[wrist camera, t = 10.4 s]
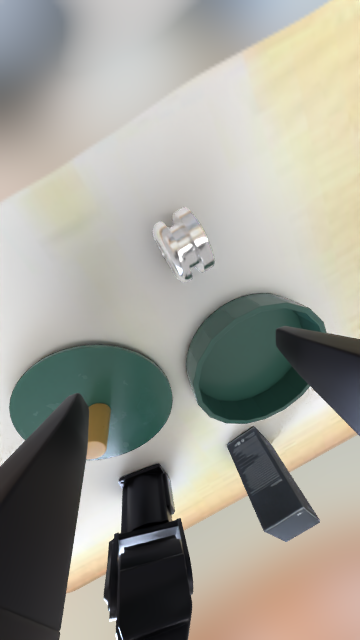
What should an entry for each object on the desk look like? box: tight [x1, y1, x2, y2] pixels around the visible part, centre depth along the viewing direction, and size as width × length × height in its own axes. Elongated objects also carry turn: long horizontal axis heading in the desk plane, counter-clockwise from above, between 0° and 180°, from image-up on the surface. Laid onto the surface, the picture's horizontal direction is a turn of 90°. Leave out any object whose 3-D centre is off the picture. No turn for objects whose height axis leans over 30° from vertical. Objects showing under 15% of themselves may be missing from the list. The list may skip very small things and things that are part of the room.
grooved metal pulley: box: [153, 207, 215, 282], centre depth 16 cm, size 5×3×5 cm, turn 27°
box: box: [227, 427, 320, 542], centre depth 29 cm, size 8×6×11 cm
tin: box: [186, 293, 326, 424], centre depth 24 cm, size 16×16×3 cm
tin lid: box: [9, 345, 173, 460], centre depth 21 cm, size 17×17×6 cm
